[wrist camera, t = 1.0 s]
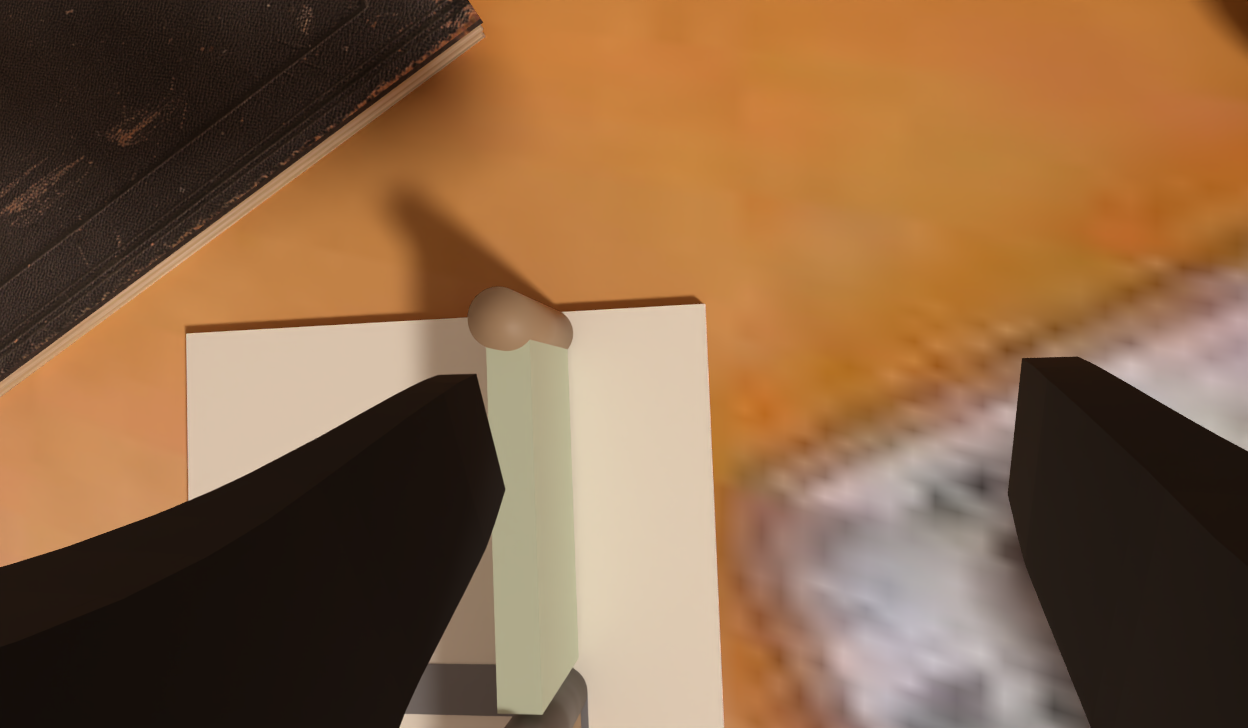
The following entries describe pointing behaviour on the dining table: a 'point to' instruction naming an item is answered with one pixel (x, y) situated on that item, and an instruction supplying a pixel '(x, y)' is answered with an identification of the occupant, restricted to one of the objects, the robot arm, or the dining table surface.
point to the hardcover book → (174, 133)
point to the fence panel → (530, 496)
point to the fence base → (558, 707)
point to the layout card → (601, 478)
